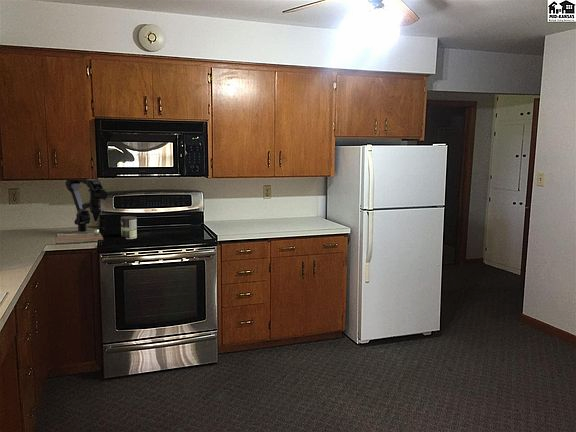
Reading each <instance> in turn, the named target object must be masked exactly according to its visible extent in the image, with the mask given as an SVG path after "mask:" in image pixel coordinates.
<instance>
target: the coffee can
mask: <svg viewBox="0 0 576 432" xmlns="http://www.w3.org/2000/svg"><path fill="white" fill-rule="evenodd" d="M137 218H138V217H137V216H134V215H128V216H127V215H125V216H124V215H123V216H121V217H120V231H121V232H120V236H121V237H122V238H125V239H126V240H133V239H137V237H138V234H137Z"/></svg>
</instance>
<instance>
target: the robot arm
mask: <svg viewBox="0 0 576 432" xmlns="http://www.w3.org/2000/svg"><path fill="white" fill-rule="evenodd" d="M81 183H82V184H84V185H86V186H87V188H89V189H88V190H87V191H88V192H89V197H90V198H89V202H85V203H84V202H83V200H82V197H81V194H80V192H79V190H80V184H81ZM64 185H65V187H66V189H67V190H68V191H69V192H70V194H71V197H72V199H73V202H74V205H75V208H76V218H75V220H74V225H76V226H77V231H78V232H79V233H85V232H86V231H88V230H87V228H88V227H87V224H88V225H89V224H90V222H91V215H90V213H91V214H92V217H93V220H94V222H97V221H98V219H99V216H100V214H101V212H102V211H101V210H102V208H101V206H100V202H101V201H100V200H103V201H104V200H107V198H108V197H109V196H108V192H107V191H106V190H105V189H104V186H103V185H102V184H101V181H100V180H99V179H94V178H93V179H92V178H89V179H84V180H68V179H66V181H65V184H64ZM86 209H89V210H90V211H89V210H86Z"/></svg>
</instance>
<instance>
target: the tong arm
mask: <svg viewBox="0 0 576 432" xmlns="http://www.w3.org/2000/svg"><path fill="white" fill-rule="evenodd" d="M84 233H85V234H77V233H65V234H66V235H65V237H70V236H89V235H100V234H101V233H100V229H98V228H97V229H94V230H93V232H84Z"/></svg>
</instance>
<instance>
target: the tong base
mask: <svg viewBox="0 0 576 432" xmlns="http://www.w3.org/2000/svg"><path fill="white" fill-rule="evenodd" d="M85 233H86V232H79V233H78V232H77V233H76V234H85ZM66 234H67V233H57V235H56V236H57V237H63V236H65V235H66Z"/></svg>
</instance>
